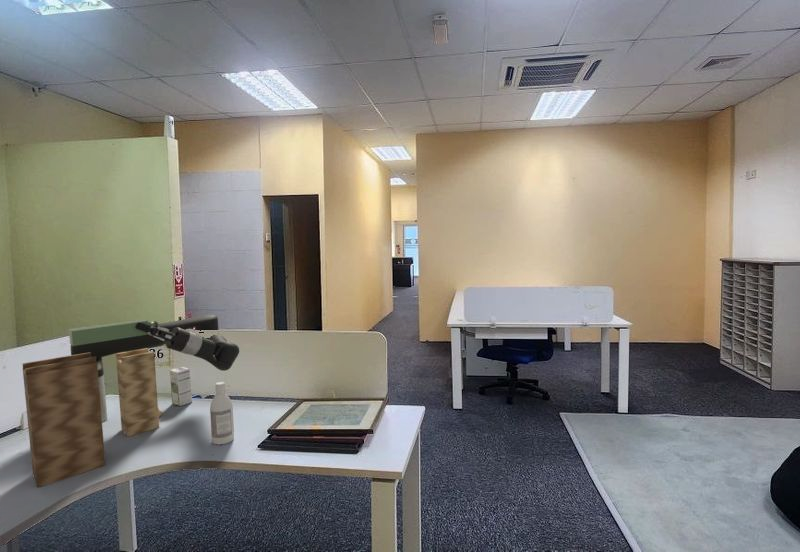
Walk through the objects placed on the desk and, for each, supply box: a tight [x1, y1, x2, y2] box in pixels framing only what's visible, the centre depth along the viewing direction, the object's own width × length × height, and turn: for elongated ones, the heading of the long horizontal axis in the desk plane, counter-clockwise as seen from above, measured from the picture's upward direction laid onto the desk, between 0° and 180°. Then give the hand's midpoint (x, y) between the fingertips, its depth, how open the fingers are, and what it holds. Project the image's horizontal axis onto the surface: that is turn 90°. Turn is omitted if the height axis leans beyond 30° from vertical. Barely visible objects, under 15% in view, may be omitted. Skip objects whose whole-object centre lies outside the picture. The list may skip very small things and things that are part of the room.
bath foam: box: [209, 381, 235, 446], centre depth 146 cm, size 7×7×20 cm
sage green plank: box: [68, 318, 159, 346], centre depth 136 cm, size 23×4×4 cm, turn 135°
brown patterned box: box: [22, 352, 106, 488], centre depth 128 cm, size 16×10×34 cm, turn 136°
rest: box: [115, 348, 160, 437], centre depth 156 cm, size 10×8×28 cm
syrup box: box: [169, 366, 193, 407], centre depth 180 cm, size 6×6×14 cm
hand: (134, 324), depth 140 cm, fingers closed on sage green plank, 4 cm apart
